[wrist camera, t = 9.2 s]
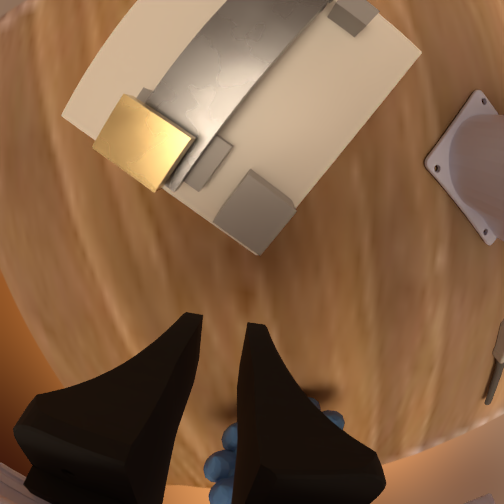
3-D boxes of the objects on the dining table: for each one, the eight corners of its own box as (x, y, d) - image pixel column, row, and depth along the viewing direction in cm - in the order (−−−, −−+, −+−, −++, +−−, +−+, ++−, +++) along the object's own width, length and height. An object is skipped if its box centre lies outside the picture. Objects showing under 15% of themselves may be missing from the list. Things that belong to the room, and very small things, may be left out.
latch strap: (282, -43, 12) (283, -54, 10) (340, -8, 12) (346, -17, 11) (124, 149, 16) (113, 150, 15) (179, 188, 17) (172, 192, 15)
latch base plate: (412, 56, 16) (444, 43, 12) (257, 247, 21) (255, 275, 17) (220, -67, 13) (212, -100, 9) (72, 115, 18) (35, 116, 14)
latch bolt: (196, 138, 14) (190, 138, 13) (162, 188, 15) (154, 192, 14) (133, 95, 13) (123, 93, 12) (102, 145, 14) (91, 147, 13)
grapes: (229, 438, 28) (218, 539, 17) (203, 397, 26) (180, 513, 15) (342, 416, 27) (364, 522, 16) (332, 370, 25) (361, 494, 13)
